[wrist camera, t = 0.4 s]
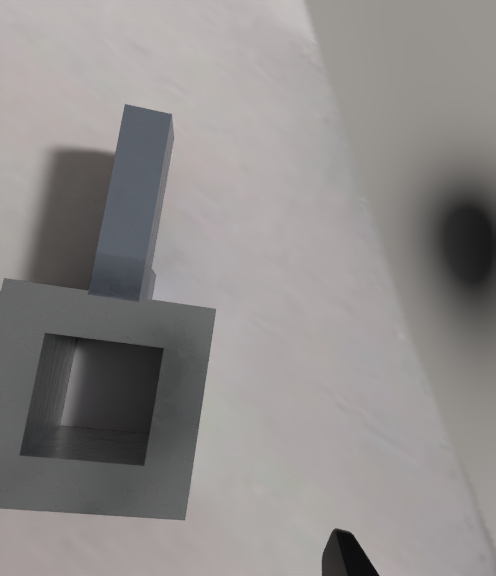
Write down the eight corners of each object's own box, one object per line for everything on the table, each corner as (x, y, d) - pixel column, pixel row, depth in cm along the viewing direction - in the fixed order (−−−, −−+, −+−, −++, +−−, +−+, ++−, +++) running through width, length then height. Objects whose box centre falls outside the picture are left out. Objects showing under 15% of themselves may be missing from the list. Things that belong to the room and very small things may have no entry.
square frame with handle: (186, 476, 22) (184, 520, 17) (10, 462, 20) (-48, 505, 15) (232, 169, 24) (242, 129, 19) (78, 138, 23) (47, 87, 18)
